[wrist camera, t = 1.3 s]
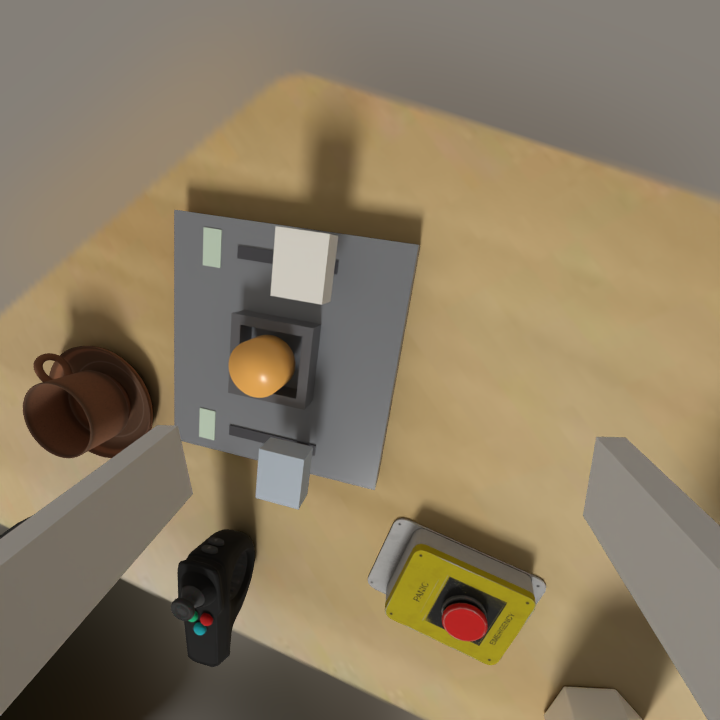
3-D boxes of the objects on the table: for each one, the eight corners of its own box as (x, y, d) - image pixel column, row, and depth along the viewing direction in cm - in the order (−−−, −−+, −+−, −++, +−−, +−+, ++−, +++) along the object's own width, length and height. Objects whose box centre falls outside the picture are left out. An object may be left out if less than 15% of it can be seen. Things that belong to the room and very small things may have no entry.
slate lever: (323, 432, 32) (304, 459, 27) (317, 476, 33) (298, 509, 28) (284, 423, 32) (259, 448, 28) (279, 466, 33) (255, 497, 29)
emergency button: (511, 692, 33) (357, 617, 34) (503, 643, 37) (366, 579, 38) (563, 622, 30) (392, 544, 31) (548, 578, 34) (397, 511, 36)
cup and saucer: (49, 394, 41) (-16, 416, 35) (96, 317, 37) (32, 328, 31) (129, 469, 41) (77, 503, 35) (184, 401, 37) (136, 427, 31)
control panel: (420, 246, 29) (417, 243, 25) (378, 477, 34) (370, 504, 31) (190, 213, 32) (156, 206, 28) (187, 430, 38) (159, 448, 34)
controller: (261, 510, 38) (203, 591, 29) (262, 602, 42) (209, 702, 32) (224, 502, 39) (155, 578, 30) (227, 593, 42) (166, 688, 33)
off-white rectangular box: (347, 238, 27) (329, 233, 23) (340, 298, 28) (321, 304, 24) (301, 232, 28) (275, 226, 23) (296, 290, 29) (270, 295, 24)
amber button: (298, 340, 29) (285, 346, 26) (292, 392, 30) (280, 403, 27) (246, 330, 29) (229, 335, 27) (243, 381, 30) (227, 391, 28)
